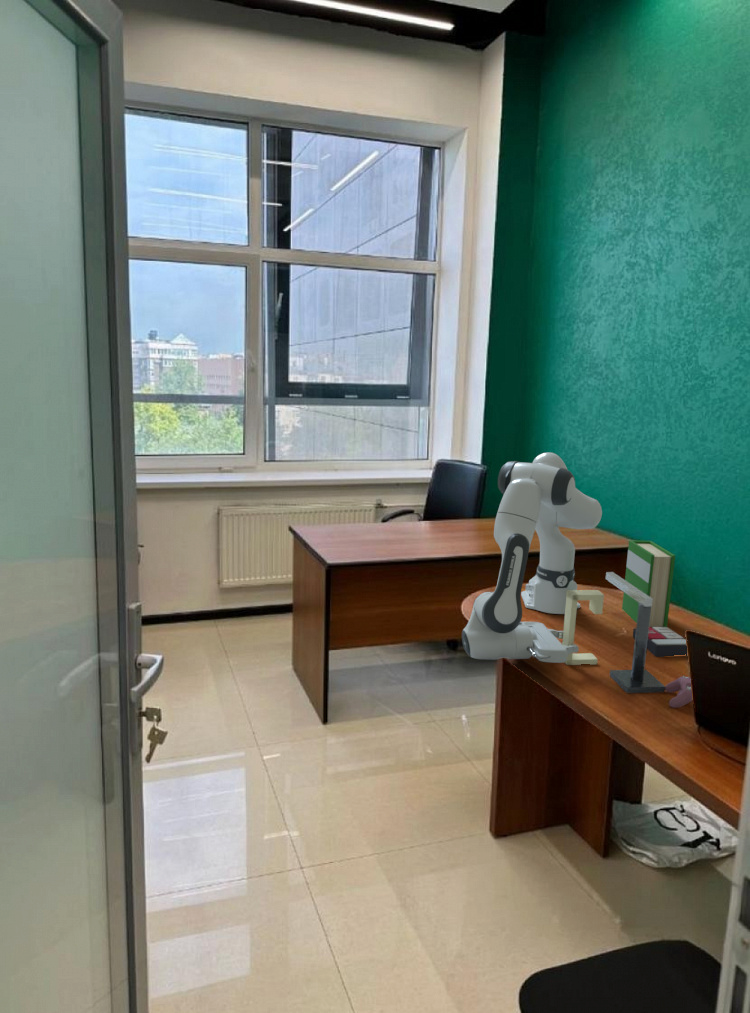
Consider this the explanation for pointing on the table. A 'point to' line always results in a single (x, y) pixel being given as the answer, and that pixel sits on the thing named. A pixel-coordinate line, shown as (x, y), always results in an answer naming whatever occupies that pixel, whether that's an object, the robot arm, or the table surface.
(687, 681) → the video game controller
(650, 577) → the hardback book
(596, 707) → the table surface
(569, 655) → the c-shaped bracket
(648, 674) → the hook stand
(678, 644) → the calculator
